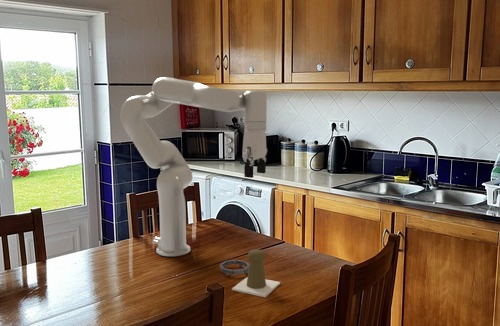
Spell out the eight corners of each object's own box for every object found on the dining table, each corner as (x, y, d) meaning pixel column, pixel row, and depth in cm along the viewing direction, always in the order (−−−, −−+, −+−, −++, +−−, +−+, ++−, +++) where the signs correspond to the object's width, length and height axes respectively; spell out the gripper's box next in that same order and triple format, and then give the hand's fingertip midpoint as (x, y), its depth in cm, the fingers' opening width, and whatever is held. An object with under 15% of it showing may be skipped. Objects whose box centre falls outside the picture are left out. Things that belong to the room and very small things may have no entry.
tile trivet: (232, 290, 144) (232, 288, 144) (248, 277, 154) (248, 275, 154) (265, 297, 140) (265, 295, 139) (280, 283, 149) (280, 282, 149)
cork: (264, 289, 144) (264, 254, 142) (244, 287, 145) (244, 253, 143) (267, 281, 149) (267, 247, 148) (248, 280, 151) (248, 246, 149)
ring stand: (214, 273, 157) (214, 267, 157) (229, 264, 166) (229, 258, 165) (240, 279, 153) (240, 272, 152) (254, 269, 161) (254, 262, 161)
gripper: (256, 124, 174) (256, 170, 177) (233, 127, 159) (234, 178, 162) (275, 125, 171) (275, 172, 174) (254, 128, 156) (253, 180, 158)
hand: (255, 175), depth 168 cm, fingers open, 9 cm apart
